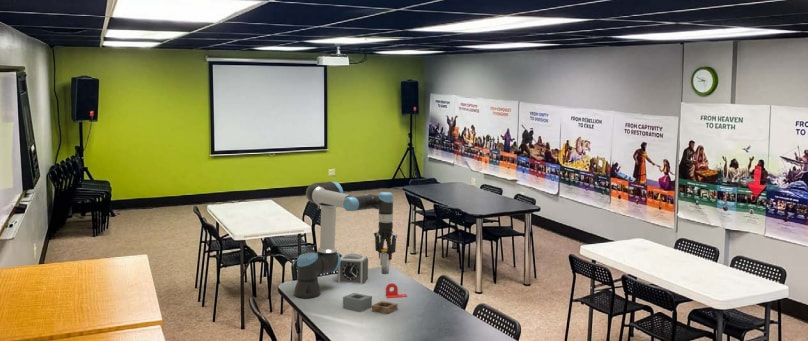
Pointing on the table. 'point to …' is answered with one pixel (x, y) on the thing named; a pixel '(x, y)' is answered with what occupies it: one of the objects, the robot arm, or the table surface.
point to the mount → (384, 307)
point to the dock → (357, 302)
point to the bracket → (393, 293)
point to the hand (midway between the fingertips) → (385, 265)
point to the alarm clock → (353, 269)
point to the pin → (384, 261)
